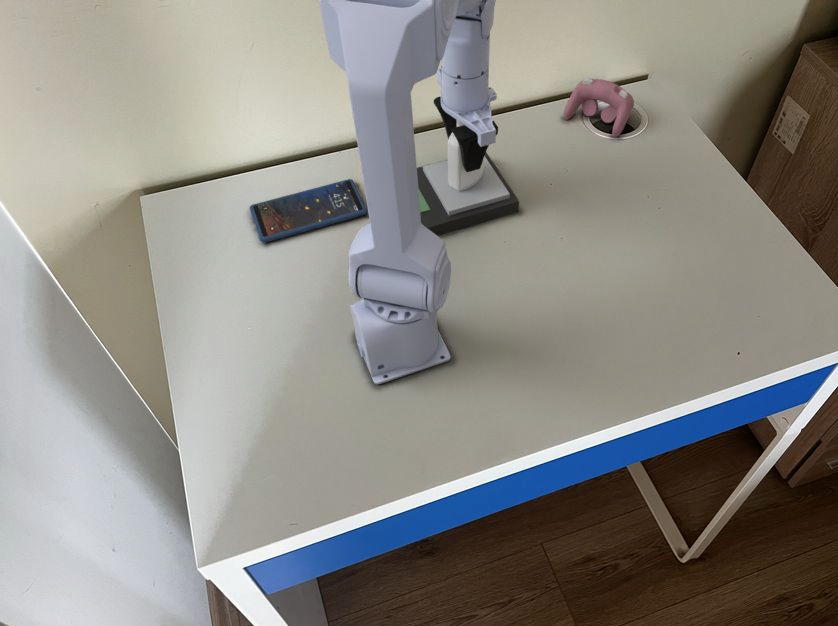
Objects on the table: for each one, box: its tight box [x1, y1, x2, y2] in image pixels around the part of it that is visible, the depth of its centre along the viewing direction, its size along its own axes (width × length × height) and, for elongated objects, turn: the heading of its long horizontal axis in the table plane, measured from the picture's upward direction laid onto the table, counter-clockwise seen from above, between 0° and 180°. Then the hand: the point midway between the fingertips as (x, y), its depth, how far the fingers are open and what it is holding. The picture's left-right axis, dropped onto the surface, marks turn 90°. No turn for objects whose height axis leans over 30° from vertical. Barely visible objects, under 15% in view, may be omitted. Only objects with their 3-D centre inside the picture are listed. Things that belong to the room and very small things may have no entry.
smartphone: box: [249, 178, 368, 244], centre depth 97 cm, size 8×1×15 cm
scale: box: [417, 151, 520, 236], centre depth 98 cm, size 14×12×3 cm
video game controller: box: [563, 78, 635, 138], centre depth 108 cm, size 10×5×7 cm, turn 58°
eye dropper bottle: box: [447, 120, 484, 191], centre depth 93 cm, size 4×6×12 cm
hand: (465, 157), depth 95 cm, fingers closed on eye dropper bottle, 4 cm apart
